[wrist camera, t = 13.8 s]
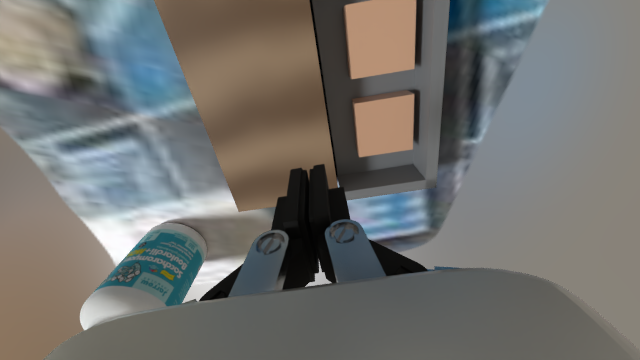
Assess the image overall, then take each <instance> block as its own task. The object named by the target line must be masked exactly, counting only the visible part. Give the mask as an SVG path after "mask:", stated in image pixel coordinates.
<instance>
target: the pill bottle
mask: <svg viewBox="0 0 640 360" xmlns="http://www.w3.org/2000/svg"><path fill="white" fill-rule="evenodd" d="M206 255H207V245H206V242H205V240H204V239H203V237H202V236H201V235H200V234H199V233H198V232H196V231H195V230H194V229H192V228H190V227H188V226H185V225H182V224H178V223H164V224H160V225H157V226H155V227H154V228H152V229H151V230H150V231H149V232H148V233H147V234H146V235H145V236H144V237H143V238H142V239H141V240H140V241H139V243H138V244H137V245H136V246H135V247H134V248H133V249H132V250H131V251H130V253H129V254H128V255H127V256H126V257H125V258H124V259H123V260H122V261H121V262H120V264H119V265H118V266H117V267H116V268H115V269H114V270H113V271H112V272H111V274H110V275H109V276H108V277H107V278H106V279H105V280H104V281H103V282H102V283H101V285H100V286H99V287H98V288H97V289H96V290H95V291H94V293H92V295H91V296H90V297H89V298H88V299H87V300H86V301H85V303H84V304H83V306H82V309H81V312H80V322H81V325H82V327H83V329H84V330H87V329H89V328H91V327H93V326H95V325H98V324H100V323H102V322H105V321H108V320H111V319H114V318H116V317H120V316H123V315H127V314H131V313H135V312H140V311H145V310H151V309H156V308H162V307H167V306H174V305H179V304H182V302H183V300H184V298H185V296H186V294H187V292H188V290H189V288H190V287H191V285H192V283H193V281H194V279H195V277H196V275H197V274H198V272H199V270H200V268H201V266H202V264H203V262H204V260H205V258H206Z"/></svg>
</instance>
